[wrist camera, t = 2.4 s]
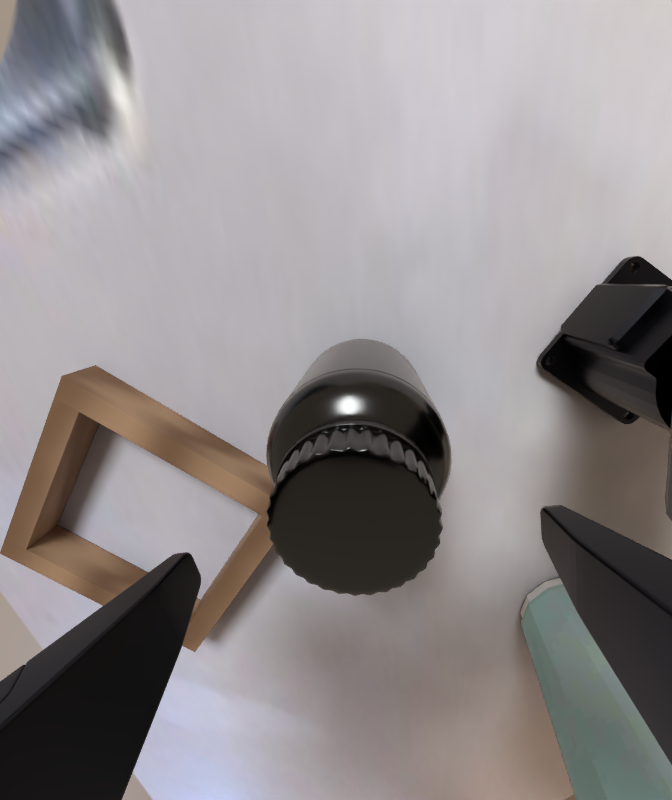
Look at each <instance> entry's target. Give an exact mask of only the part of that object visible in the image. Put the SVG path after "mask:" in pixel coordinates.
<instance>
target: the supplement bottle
mask: <svg viewBox="0 0 672 800" xmlns="http://www.w3.org/2000/svg"><path fill="white" fill-rule="evenodd" d="M267 466H268V472H269V475H270V479H271V482H272V484H273V487H272V490H271V492H270V496H269V500H270V501H269V503H268V505H267V509H266V512H267V515H268V520H267V527H268V529H269V531H270V540H271V541H272V543H273V544H274V545H275V550H276V553H277V554H278V555H280V556H281V557H282V559H283V561H284V564H285V565H287V566H288V567H290V568H292V570H293V571H294V573H295V574H296V575H298V576H300V577H303V578H304V579H306V581H307V582H308V583H311V584H315V585H318V586H319V587H320V588H322V589H324V590H332V591H334V592H336V593H338V594H343V593H348V594H351V595H354V596H355V595H360V594H366V595H372V594H375V593H377V592H387V591H389V590H390V589H392V588H395V587H401V586H402V585H403V584H404V583H405V582H406V581H409V580H412V579H414V578H415V577H416V575H417V574H418V573H419V572H420V571H422V570H424V569H425V568H426V566H427V563H428V562H429V561H430V560H431V559H432V558H433V557H434V554H435V549H436V548H437V547H438V545H439V544H440V537H439V535H440V533H441V531H442V528H443V526H442V521H441V514H442V510H441V506H440V503H439V500H440V498H441V496H442V494H443V492H444V490H445V488H446V485H447V482H448V479H449V475H450V469H451V446H450V441H449V437H448V434H447V431H446V428H445V425H444V423H443V421H442V419H441V417H440V415H439V413H438V411H437V409H436V407H435V405H434V403H433V402H432V400H431V398H430V396H429V394H428V393H427V391H426V389H425V387H424V385H423V383H422V382H421V380H420V378H419V376H418V374H417V373H416V371H415V369H414V368H413V366H412V365H411V363H410V362H409V361H408V360H407V359H406V358H405V357H404V356H403V355H402V354H401V353H400V352H399V351H397V350H396V349H394V348H393V347H391V346H389V345H387V344H384V343H382V342H379V341H374V340H368V339H356V340H349V341H345V342H342V343H339V344H337V345H335V346H333V347H331V348H330V349H328V350H326V351H325V352H324V353H323V354H321V355H320V356H319V357H318V358H317V359H316V361H315V362H314V363H313V364H312V365H311V367H310V368H309V369H308V371H307V372H306V374H305V375H304V376H303V378H302V379H301V381H300V382H299V383H298V385H297V386H296V387H295V389H294V390H293V392H292V393H291V394H290V396H289V397H288V399H287V400H286V401H285V403H284V404H283V406H282V407H281V409H280V410H279V412H278V414H277V416H276V418H275V420H274V422H273V424H272V427H271V429H270V433H269V437H268V443H267Z"/></svg>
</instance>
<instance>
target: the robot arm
mask: <svg viewBox="0 0 672 800" xmlns="http://www.w3.org/2000/svg"><path fill="white" fill-rule="evenodd" d="M631 263H633V264H634V269H633V271H631V272H629V266H630V264H631ZM549 357H552V361H551V363H549V364H546V360H547V359H548V358H549ZM537 362H538V365H539V366H540V367H541V368H542V369H544V370H545V371H546V372H548V373H549V374H551V375H552V376H554V377H555V378H557V379H558V380H559V381H561V382H562V383H564V384H565V385H567V386H568V387H570V388H571V389H573V390H574V391H575V392H577V393H578V394H580V395H581V396H583V397H584V398H586V399H587V400H588V401H590V402H591V403H593V404H594V405H596V406H597V407H599V408H600V409H602V410H603V411H604V412H606V413H607V414H609V415H610V416H612V417H613V418H615V419H616V420H618V421H619V422H621V423H624V424H630V423H633V422H634V421H636V420H637V419H638V418H639V417H642V418H644V419H646V420H648V421H650V422H652V423H654V424H656V425H658V426H660V427H662V428H664V429H666V430H668V431H670V443H669V456H668V469H667V481H666V494H665V501H666V514H667V515H668V516H669V518H670V519H671V520H672V280H671V279H670V278H668V277H667V276H666V275H664V274H663V273H662V272H660V271H659V270H658V269H657V268H655V267H654V266H653V265H651V264H650V263H649V262H647V261H646V260H645V259H643V258H642V257H639V256H635V257H628V258H625V259H624V260H622V261H621V262H620V263H619V264H618V266H617V267H616V268H615V269H614V270H613V271H612V273H611V274H610V275H609V276H608V277H607V278H606V279H605V281H604V282H603V283H602V284H600V285H596V286H595V287H594V288H593V290H592V291H591V292H590V293H589V294H588V295H587V297H586V298H585V299H584V300H583V301H582V302H581V304H580V305H579V306H578V307H577V308H576V309H575V310H574V312H573V313H572V314H571V315H570V316H569V317H568V319H567V320H566V321H565V322H564V323H563V324H562V326H561V331H560V332H559V334H558V335H557V336H556V337H555V338H554V339H553V340H552V342H551V343H550V344H549V345H548V346H547V347H546V348H545V350H544V351H543V352H542V353H541V354H540V356H539V357H538V361H537ZM626 412H629V414H628V415H627V416H626V417H624V414H625V413H626ZM540 514H541V534H542V540H543V543H544V546H545V548H546V550H547V552H548V554H549V556H550V558H551V560H552V562H553V564H554V566H555V569H556V571H557V573H558V575H559V577H560V579H561V581H562V583H563V585H564V587H565V589H566V591H567V593H568V595H569V597H570V599H571V601H572V603H573V605H574V607H575V609H576V611H577V613H578V614H579V616H580V618H581V620H582V621H583V623H584V625H585V626H586V628H587V629H588V631H589V633H590V634H591V636H592V637H593V639H594V641H595V642H596V644H597V646H598V647H599V649H600V650H601V652H602V654H603V655H604V657H605V658H606V660H607V662H608V663H609V665H610V667H611V668H612V670H613V671H614V673H615V675H616V676H617V678H618V679H619V681H620V683H621V684H622V686H623V687H624V689H625V691H626V692H627V694H628V696H629V697H630V699H631V700H632V702H633V704H634V705H635V707H636V708H637V710H638V712H639V713H640V715H641V717H642V718H643V720H644V721H645V723H646V725H647V726H648V728H649V729H650V731H651V733H652V734H653V736H654V737H655V739H656V741H657V742H658V744H659V746H660V747H661V749H662V750H663V752H664V754H665V755H666V757H667V758H668V760H669V762H670V763H671V765H672V560H671V559H669V558H667V557H665V556H663V555H661V554H659V553H657V552H655V551H653V550H651V549H649V548H647V547H645V546H643V545H641V544H639V543H637V542H635V541H633V540H631V539H628V538H626V537H624V536H622V535H620V534H618V533H616V532H614V531H612V530H610V529H608V528H606V527H604V526H602V525H600V524H598V523H596V522H594V521H592V520H590V519H588V518H586V517H584V516H582V515H580V514H578V513H576V512H574V511H572V510H570V509H568V508H566V507H564V506H562V505H553V506H545V507H543V508H542V509H541V512H540ZM200 584H201V576H200V573H199V571H198V568H197V566H196V564H195V561H194V559H193V557H192V555H191V554H190V553H187V552H185V553H178V554H174V555H172V556H171V557H169V558H168V559H167V560H165V561H164V562H162V563H161V564H160V565H158V566H157V567H156V568H154V569H153V570H152V571H150V572H149V573H147V574H146V575H145V576H143V577H142V578H141V579H139V580H138V581H137V582H135V583H134V584H133V585H131V586H130V587H128V588H127V589H126V590H124V591H123V592H122V593H120V594H119V595H118V596H116V597H115V598H113V599H112V600H111V601H109V602H108V603H107V604H105V605H104V606H103V607H101V608H100V609H98V610H97V611H96V612H94V613H93V614H92V615H90V616H89V617H88V618H86V619H85V620H84V621H82V622H81V623H79V624H78V625H77V626H75V627H74V628H73V629H71V630H70V631H69V632H67V633H66V634H64V635H63V636H62V637H60V638H59V639H58V640H56V641H55V642H54V643H52V644H51V645H49V646H48V647H47V648H45V649H44V650H43V651H41V652H40V653H39V654H37V655H36V656H35V657H33V658H32V659H30V660H29V661H28V662H27V663H26V665H22V666H21V667H19V668H18V669H17V670H15V671H14V672H13V673H11V674H10V675H9V676H7V677H6V678H4V679H3V680H2V681H0V800H122V798H123V795H124V793H125V790H126V787H127V785H128V782H129V779H130V777H131V775H132V772H133V770H134V767H135V765H136V762H137V760H138V757H139V754H140V752H141V749H142V747H143V744H144V742H145V739H146V737H147V734H148V732H149V729H150V727H151V724H152V721H153V719H154V716H155V714H156V711H157V709H158V706H159V704H160V701H161V699H162V696H163V694H164V691H165V688H166V686H167V683H168V681H169V678H170V676H171V673H172V671H173V668H174V666H175V663H176V660H177V658H178V655H179V653H180V650H181V647H182V645H183V641H184V638H185V635H186V632H187V629H188V625H189V622H190V619H191V615H192V612H193V609H194V605H195V602H196V598H197V595H198V592H199V588H200Z"/></svg>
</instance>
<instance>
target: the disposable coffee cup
mask: <svg viewBox="0 0 672 800" xmlns="http://www.w3.org/2000/svg"><path fill="white" fill-rule="evenodd" d="M520 613H521V616H522V620H521V626H522V629H523V632H524V636H525V639H526V642H527V645H528V648H529V652H530V655H531V658H532V661H533V664H534V667H535V671H536V674H537V677H538V680H539V683H540V687H541V690H542V693H543V696H544V699H545V703H546V706H547V709H548V712H549V715H550V718H551V722H552V725H553V728H554V731H555V734H556V738H557V741H558V744H559V747H560V750H561V753H562V757H563V760H564V763H565V766H566V769H567V773H568V776H569V779H570V782H571V785H572V788H573V792H574V795H575V798H576V800H672V765H671V763H670V762H669V760H668V758H667V757H666V755H665V754H664V752H663V750H662V749H661V747H660V746H659V744H658V742H657V741H656V739H655V737H654V736H653V734H652V733H651V731H650V729H649V728H648V726H647V725H646V723H645V721H644V720H643V718H642V717H641V715H640V713H639V712H638V710H637V708H636V707H635V705H634V704H633V702H632V700H631V699H630V697H629V696H628V694H627V692H626V691H625V689H624V687H623V686H622V684H621V683H620V681H619V679H618V678H617V676H616V675H615V673H614V671H613V670H612V668H611V667H610V665H609V663H608V662H607V660H606V658H605V657H604V655H603V654H602V652H601V650H600V649H599V647H598V646H597V644H596V642H595V641H594V639H593V637H592V636H591V634H590V633H589V631H588V629H587V628H586V626H585V625H584V623H583V621H582V620H581V618H580V616H579V614H578V613H577V611H576V609H575V607H574V605H573V603H572V601H571V599H570V597H569V595H568V593H567V591H566V589H565V587H564V585H563V583H562V581H561V579H560V578H556V579H553V580H549V581H545V582H543V583H542V584H541V585H540V586H538V587H537V588H536V589H534V590H533V591H532V592H531V593H529V594H528V595H527V596H526V599H525V602H524V604H523V607H522V609H521V612H520Z"/></svg>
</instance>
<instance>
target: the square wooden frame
mask: <svg viewBox="0 0 672 800" xmlns="http://www.w3.org/2000/svg"><path fill="white" fill-rule="evenodd" d="M99 423H100V424H102V425H103V426H105V427H107V428H109V429H110V430H112V431H114V432H116V433H117V434H119V435H121V436H123V437H124V438H126V439H128V440H130V441H132V442H133V443H135V444H137V445H139V446H140V447H142V448H144V449H146V450H147V451H149V452H151V453H153V454H154V455H156V456H158V457H160V458H162V459H163V460H165V461H167V462H169V463H170V464H172V465H174V466H176V467H177V468H179V469H181V470H183V471H184V472H186V473H188V474H190V475H191V476H193V477H195V478H197V479H199V480H200V481H202V482H204V483H206V484H207V485H209V486H211V487H213V488H214V489H216V490H218V491H220V492H221V493H223V494H225V495H227V496H229V497H230V498H232V499H234V500H236V501H237V502H239V503H241V504H243V505H244V506H246V507H248V508H250V509H251V510H253V511H255V512H257V513H258V514H259V515H258V516H257V518H256V519H255V521H254V522H253V524H252V525H251V527H250V528H249V530H248V531H247V532H246V534H245V535H244V537H243V538H242V540H241V541H240V543H239V544H238V546H237V547H236V549H235V550H234V552H233V553H232V555H231V556H230V558H229V559H228V561H227V562H226V563H225V565H224V566H223V568H222V569H221V571H220V572H219V574H218V575H217V577H216V578H215V580H214V581H213V583H212V584H211V586H210V587H209V589H208V590H207V591H206V593H205V594H204V596H203V597H202V599H201V600H199V599H197V598H196V602H195V605H194V609H193V612H192V615H191V619H190V622H189V625H188V629H187V632H186V635H185V638H184V641H183V645H182V646H184V647H186V648H188V649H190V650H192V651H194V652H195V651H196V650H197V648H198V647H199V646H200V644H201V643H202V642H203V640H204V639H205V637H206V636H207V635H208V633H209V632H210V631H211V629H212V628H213V626H214V625H215V624H216V622H217V621H218V620H219V618H220V617H221V615H222V614H223V613H224V611H225V610H226V609H227V607H228V606H229V604H230V603H231V602H232V600H233V599H234V598H235V596H236V595H237V593H238V592H239V591H240V589H241V588H242V587H243V585H244V584H245V582H246V581H247V580H248V578H249V577H250V576H251V574H252V573H253V571H254V570H255V569H256V567H257V566H258V565H259V563H260V562H261V560H262V559H263V558H264V556H265V555H266V553H267V552H268V551H269V549H270V548H271V547H272V545H273V543H272V541H271V540H270V531H269V529H268V527H267V520H268V515H267V512H266V509H267V505H268V503H269V501H270V500H269V496H270V492H271V490H272V487H273V484H272V482H271V479H270V475H269V472H268V466H266V465H265V464H263V463H261V462H259V461H258V460H256V459H254V458H253V457H251V456H249V455H247V454H246V453H244V452H242V451H241V450H239V449H237V448H236V447H234V446H232V445H230V444H229V443H227V442H225V441H224V440H222V439H220V438H218V437H217V436H215V435H213V434H212V433H210V432H208V431H207V430H205V429H203V428H201V427H200V426H198V425H196V424H195V423H193V422H191V421H189V420H188V419H186V418H184V417H183V416H181V415H179V414H178V413H176V412H174V411H172V410H171V409H169V408H167V407H166V406H164V405H162V404H160V403H159V402H157V401H155V400H154V399H152V398H150V397H149V396H147V395H145V394H143V393H142V392H140V391H138V390H137V389H135V388H133V387H131V386H130V385H128V384H126V383H125V382H123V381H121V380H120V379H118V378H116V377H114V376H113V375H111V374H109V373H108V372H106V371H104V370H102V369H101V368H99V367H97V366H96V365H95V366H92V367H89V368H86V369H83V370H79V371H76V372H73V373H70V374H67V375H64V376H62V377H61V380H60V383H59V386H58V388H57V391H56V394H55V397H54V400H53V403H52V406H51V409H50V411H49V414H48V417H47V420H46V423H45V426H44V429H43V431H42V434H41V437H40V440H39V443H38V446H37V449H36V452H35V454H34V457H33V460H32V463H31V466H30V469H29V472H28V474H27V477H26V480H25V483H24V486H23V489H22V492H21V495H20V497H19V500H18V503H17V506H16V509H15V512H14V515H13V517H12V520H11V523H10V526H9V529H8V532H7V535H6V538H5V540H4V543H3V546H2V549H1V552H0V554H2V555H4V556H6V557H8V558H10V559H12V560H14V561H16V562H18V563H20V564H22V565H24V566H26V567H28V568H30V569H32V570H34V571H36V572H38V573H40V574H42V575H44V576H46V577H48V578H50V579H52V580H54V581H55V582H57V583H59V584H61V585H63V586H65V587H67V588H69V589H71V590H73V591H75V592H77V593H79V594H81V595H83V596H85V597H87V598H89V599H91V600H93V601H95V602H97V603H99V604H101V605H103V606H104V605H105V604H107V603H108V602H109V601H111V600H112V599H113V598H115V597H116V596H118V595H119V594H120V593H122V592H123V591H124V590H126V589H127V588H128V587H130V586H131V585H133V584H134V583H135V582H137V581H138V580H139V579H141V578H142V577H143V576H145V575H146V574H147V573H148V572H146V571H144V570H142V569H140V568H138V567H136V566H134V565H132V564H130V563H128V562H127V561H125V560H123V559H121V558H119V557H117V556H115V555H113V554H111V553H109V552H108V551H106V550H104V549H102V548H100V547H98V546H96V545H94V544H92V543H90V542H88V541H87V540H85V539H83V538H81V537H79V536H77V535H75V534H73V533H71V532H69V531H67V530H66V529H64V528H62V527H60V526H58V525H57V524H58V522H59V519H60V517H61V515H62V512H63V510H64V507H65V505H66V502H67V500H68V498H69V495H70V493H71V490H72V488H73V486H74V483H75V481H76V478H77V476H78V473H79V471H80V469H81V466H82V464H83V461H84V459H85V456H86V454H87V452H88V449H89V447H90V444H91V442H92V440H93V437H94V435H95V432H96V430H97V427H98V425H99Z"/></svg>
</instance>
